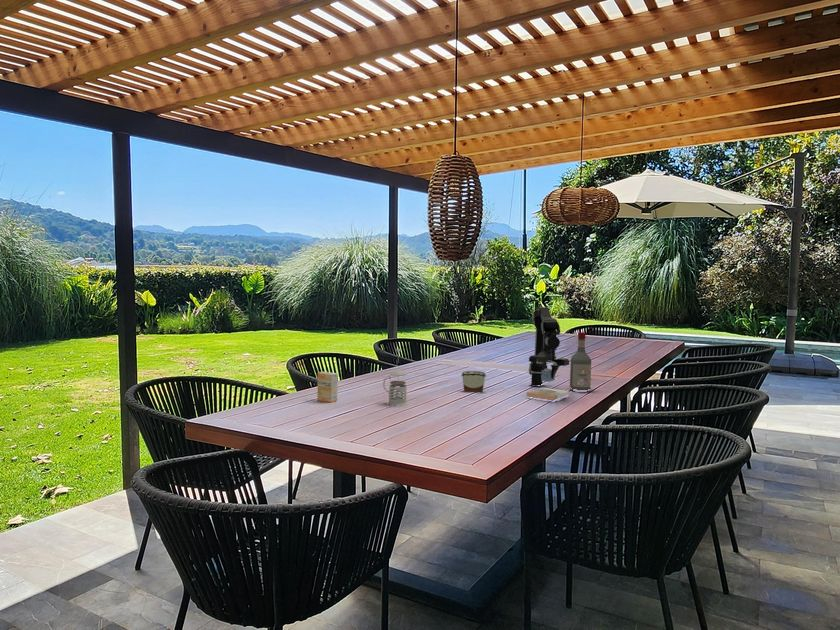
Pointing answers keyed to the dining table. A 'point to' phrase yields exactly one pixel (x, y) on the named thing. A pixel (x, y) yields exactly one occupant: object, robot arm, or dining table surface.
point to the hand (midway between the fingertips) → (548, 378)
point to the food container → (473, 381)
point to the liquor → (580, 366)
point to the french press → (397, 388)
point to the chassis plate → (547, 393)
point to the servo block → (547, 375)
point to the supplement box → (327, 386)
